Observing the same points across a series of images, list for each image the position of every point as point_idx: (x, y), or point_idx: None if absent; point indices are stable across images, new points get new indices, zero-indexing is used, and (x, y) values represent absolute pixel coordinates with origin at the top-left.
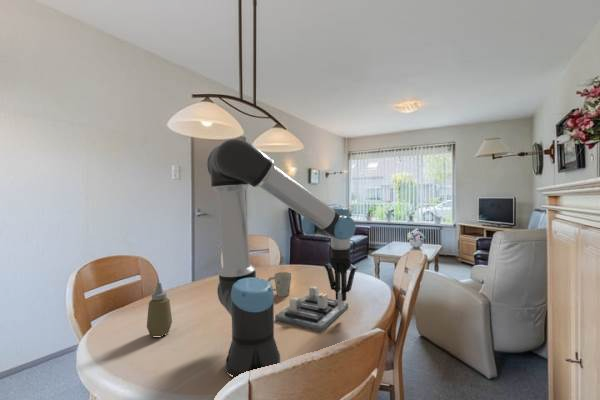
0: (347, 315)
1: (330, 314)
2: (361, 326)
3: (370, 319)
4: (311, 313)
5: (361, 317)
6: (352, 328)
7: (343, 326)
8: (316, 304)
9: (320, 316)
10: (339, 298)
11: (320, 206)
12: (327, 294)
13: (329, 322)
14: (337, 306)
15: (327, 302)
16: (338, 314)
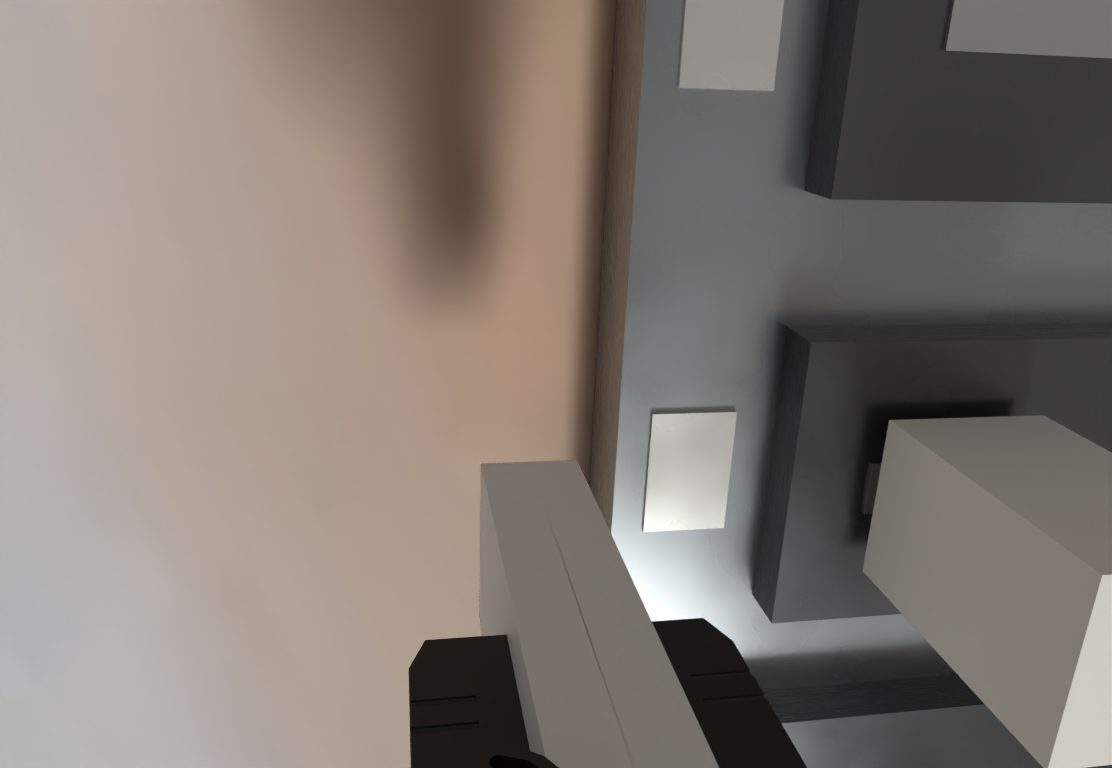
0: None
1: (708, 362)
2: (4, 340)
3: (8, 697)
4: (1095, 93)
5: (197, 690)
6: (122, 161)
7: (331, 164)
8: None
9: (861, 21)
10: (592, 630)
11: None
12: (1040, 762)
13: (623, 93)
14: None
15: (911, 619)
16: None
